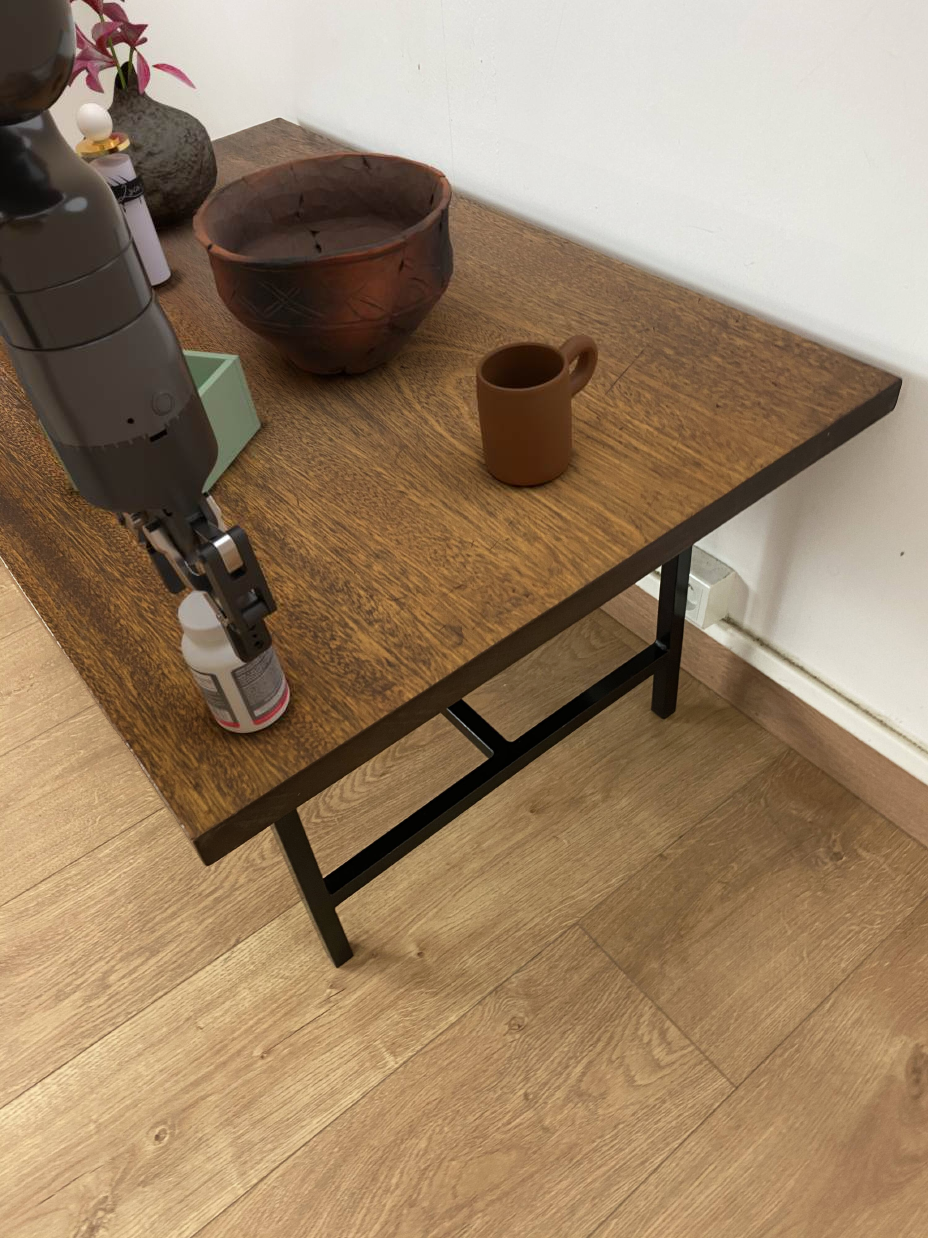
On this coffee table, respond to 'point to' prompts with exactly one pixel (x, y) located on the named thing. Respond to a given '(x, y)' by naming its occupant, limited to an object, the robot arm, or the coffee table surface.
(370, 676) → the coffee table surface
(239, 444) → the bin
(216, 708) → the pill bottle
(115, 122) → the vase
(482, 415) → the mug
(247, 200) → the bowl
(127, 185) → the perfume bottle
